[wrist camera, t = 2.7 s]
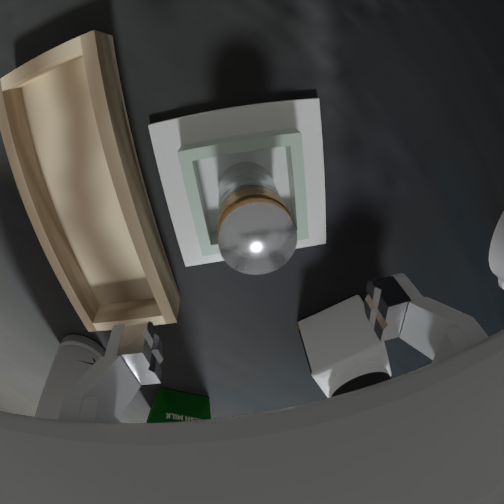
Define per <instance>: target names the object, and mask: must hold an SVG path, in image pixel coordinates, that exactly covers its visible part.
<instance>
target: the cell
mask: <svg viewBox="0 0 504 504" xmlns="http://www.w3.org/2000/svg"><path fill="white" fill-rule="evenodd" d="M217 240H218V245H219V250H220V253H221V255H222V257H223V259H224V260H225V262H226V263H227V264H228V265H229V266H231V267H232V268H233V269H235V270H237V271H239V272H242V273H246V274H252V275H259V274H265V273H269V272H272V271H274V270H276V269H278V268H280V267H281V266H283V265H284V264H285V263H286V262H287V261H288V260H289V259H290V258H291V256H292V255H293V253H294V251H295V248H296V245H297V231H296V227H295V224H294V221H293V219H292V217H291V215H290V213H289V211H288V209H287V207H286V205H285V203H284V201H283V200H282V198H281V196H280V194H279V192H278V190H277V188H276V186H275V184H274V182H273V180H272V178H271V176H270V174H269V173H268V171H267V170H266V169H265V168H264V167H263V166H261V165H259V164H257V163H254V162H239V163H236V164H234V165H232V166H230V167H229V168H228V169H227V170H226V171H225V172H224V173H223V174H222V176H221V178H220V181H219V197H218V228H217Z"/></svg>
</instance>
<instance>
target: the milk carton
mask: <svg viewBox="0 0 504 504" xmlns="http://www.w3.org/2000/svg"><path fill="white" fill-rule="evenodd" d="M206 419H211V415H210V403H209V397H204V396H199V395H194V394H189V393H184V392H179V391H175V390H170V389H166V388H161V387H159V389H158V391H157V394H156V397H155V399H154V402H153V404H152V407H151V410H150V413H149V416H148V419H147V422H146V423H165V422H182V421H195V420H206Z"/></svg>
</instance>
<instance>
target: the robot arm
mask: <svg viewBox="0 0 504 504" xmlns="http://www.w3.org/2000/svg"><path fill="white" fill-rule="evenodd" d="M489 265H490V269H491V271H492V272H493V273H494V274H495V275H496V276H497V277H498V282H499V286H500V287H501V288H502V289H504V211H503V213H502V215H501V217H500V219H499V221H498V223H497V226H496V228H495V231H494V234H493V237H492V241H491V245H490V250H489ZM366 291H367V292H368V295H367V297H366V298H365V301H364V308H365V314H366V316H367V319H368V320H369V322H371V323H373V324H375V326H374V331H375V333H376V335H377V337H378V338H379V340H380V342H382V341H385V340H389V339H393V338H396V337H399V338H401V339H402V340H404V341H405V342H407V343H408V344H410V345H411V346H413V347H414V348H416V349H417V350H419V351H420V352H422V353H423V354H425V355H426V356H427V357H429V358H430V359H432V360H433V361H432V363H431V364H430V365H427V366H425V367H422V368H420V369H417V370H415V371H412V372H409V373H407V374H404V375H401V376H398V377H395V378H393V379H390V380H387V381H384V382H381V383H378V384H375V385H371V386H368V387H365V388H362V389H359V390H355V391H352V392H348V393H345V394H341V395H337V396H334V397H330V398H326V399H322V400H318V401H314V402H309V403H305V404H301V405H296V406H291V407H286V408H281V409H276V410H270V411H265V412H259V413H253V414H246V415H239V416H232V417H224V418H215V419H206V420H195V421H182V422H165V423H121V422H120V421H119V418H120V417H121V415H122V414H123V412H124V411H125V409H126V408H127V406H128V405H129V403H130V402H131V400H132V399H133V397H134V396H135V394H136V393H137V391H138V390H139V388H140V387H141V386H140V385H148V384H158V383H161V378H162V368H161V366H160V363H161V362H162V361H163V357H164V352H163V345H162V342H161V339H160V337H159V336H158V335H156V334H154V333H155V327H154V325H153V323H152V322H150V321H146V322H137V323H127V324H119V325H114V326H113V328H112V331H111V334H110V338H109V341H108V345H107V348H106V352H105V356H104V357H100V358H99V359H98V360H97V361H96V362H95V363H94V364H93V366H92V367H91V368H90V369H89V370H88V371H87V372H86V373H85V374H84V375H83V376H82V377H81V378H80V379H79V380H78V381H77V382H76V383H75V384H74V385H73V386H72V387H71V388H70V389H69V390H68V391H67V392H66V393H65V394H64V398H63V401H62V405H61V409H60V413H59V416H58V420H56V419H47V418H39V417H32V416H25V415H19V414H13V413H8V412H3V411H0V504H504V329H503V330H502V331H500V332H498V333H496V334H494V335H492V336H490V337H488V336H487V334H486V333H485V332H484V331H483V329H482V328H481V327H480V325H479V324H478V323H477V322H476V320H475V319H474V318H473V317H471V316H469V315H466V314H464V313H462V312H460V311H458V310H455V309H453V308H451V307H449V306H446V305H444V304H442V303H440V302H437V301H435V300H433V299H431V298H428V297H424V298H423V296H422V295H421V294H420V292H419V291H418V290H417V289H416V288H415V286H414V285H413V284H412V283H411V281H410V280H409V279H408V278H407V277H406V275H405V274H403V273H399V274H395V275H392V276H388V277H384V278H380V279H376V280H372V281H368V283H367V286H366Z"/></svg>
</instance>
